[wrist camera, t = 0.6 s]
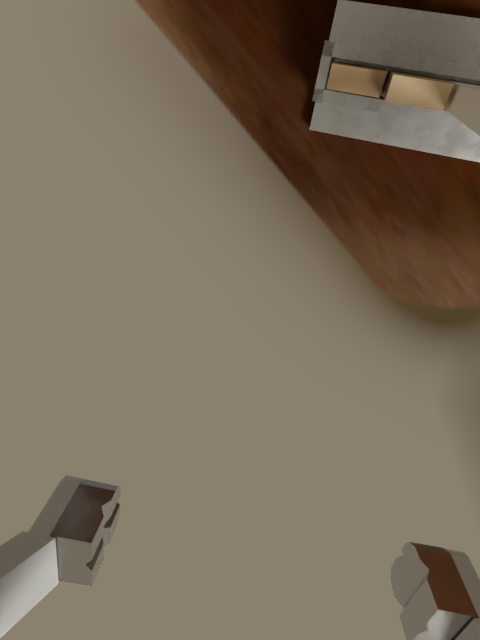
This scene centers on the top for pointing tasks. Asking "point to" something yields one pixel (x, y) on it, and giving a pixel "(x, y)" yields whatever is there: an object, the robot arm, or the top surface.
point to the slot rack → (403, 56)
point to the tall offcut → (416, 90)
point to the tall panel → (465, 104)
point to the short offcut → (356, 79)
